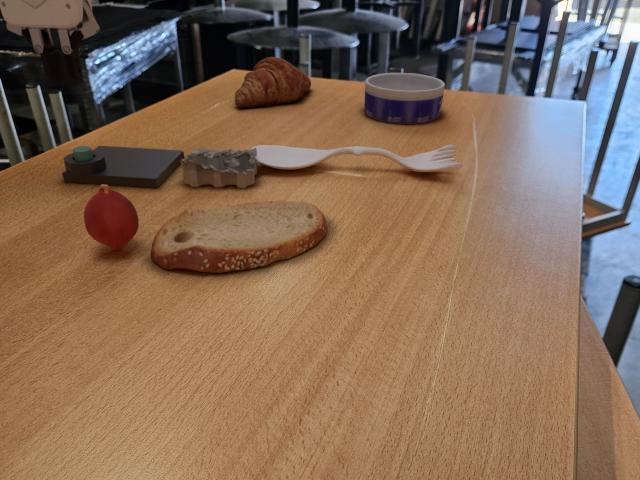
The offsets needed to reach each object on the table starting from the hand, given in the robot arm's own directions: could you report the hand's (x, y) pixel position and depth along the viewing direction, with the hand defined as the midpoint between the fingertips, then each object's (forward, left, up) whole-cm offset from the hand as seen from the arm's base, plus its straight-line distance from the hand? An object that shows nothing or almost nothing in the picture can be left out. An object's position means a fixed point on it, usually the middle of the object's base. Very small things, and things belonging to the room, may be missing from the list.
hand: (66, 83), depth 77 cm
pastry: (+19, +48, -13) cm, 53 cm away
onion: (+14, -20, -13) cm, 28 cm away
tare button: (0, 0, -11) cm, 11 cm away
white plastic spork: (+39, +10, -13) cm, 42 cm away
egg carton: (+20, +3, -13) cm, 24 cm away
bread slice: (+28, -16, -13) cm, 35 cm away
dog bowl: (+46, +42, -13) cm, 63 cm away
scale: (+5, +4, -13) cm, 14 cm away
